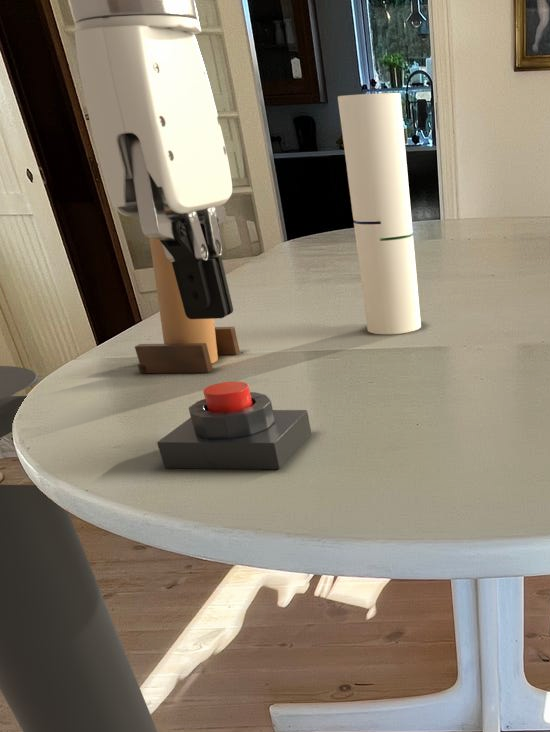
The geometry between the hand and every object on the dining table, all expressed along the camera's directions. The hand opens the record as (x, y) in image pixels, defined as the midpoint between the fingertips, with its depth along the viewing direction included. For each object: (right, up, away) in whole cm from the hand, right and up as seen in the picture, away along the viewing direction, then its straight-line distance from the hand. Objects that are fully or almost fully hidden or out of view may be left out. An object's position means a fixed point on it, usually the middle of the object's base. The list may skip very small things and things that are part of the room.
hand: (210, 315), depth 57 cm
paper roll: (-14, +9, +31) cm, 35 cm away
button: (0, -6, +4) cm, 7 cm away
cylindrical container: (+9, +16, +41) cm, 46 cm away
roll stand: (-14, +8, +31) cm, 35 cm away
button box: (0, -9, +6) cm, 11 cm away
